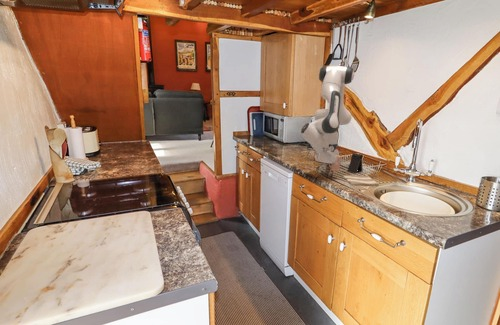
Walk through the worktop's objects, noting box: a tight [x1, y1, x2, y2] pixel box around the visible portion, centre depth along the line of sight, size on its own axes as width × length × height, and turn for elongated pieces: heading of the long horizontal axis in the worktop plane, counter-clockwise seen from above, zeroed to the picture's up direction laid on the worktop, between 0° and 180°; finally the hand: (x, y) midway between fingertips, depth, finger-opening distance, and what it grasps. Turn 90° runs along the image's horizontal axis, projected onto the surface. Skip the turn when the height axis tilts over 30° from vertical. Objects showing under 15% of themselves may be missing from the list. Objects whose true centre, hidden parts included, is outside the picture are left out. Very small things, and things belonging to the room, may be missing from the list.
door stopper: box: [347, 152, 363, 174], centre depth 187 cm, size 9×6×12 cm, turn 128°
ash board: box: [342, 174, 379, 187], centre depth 169 cm, size 15×16×1 cm
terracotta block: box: [330, 154, 342, 172], centre depth 171 cm, size 4×4×9 cm
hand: (335, 162), depth 171 cm, fingers closed on terracotta block, 4 cm apart
